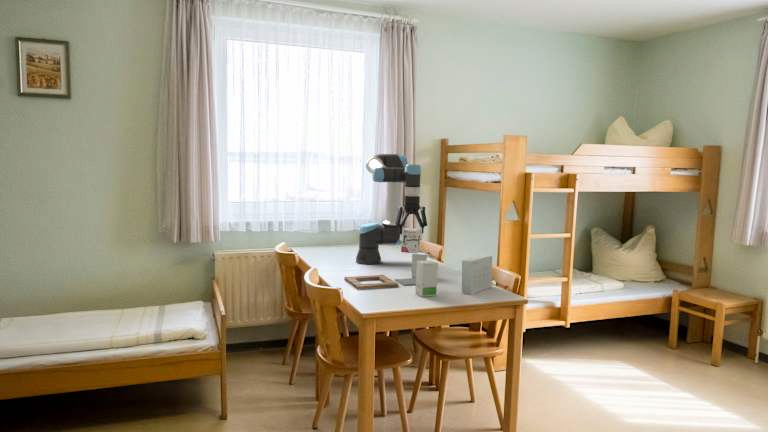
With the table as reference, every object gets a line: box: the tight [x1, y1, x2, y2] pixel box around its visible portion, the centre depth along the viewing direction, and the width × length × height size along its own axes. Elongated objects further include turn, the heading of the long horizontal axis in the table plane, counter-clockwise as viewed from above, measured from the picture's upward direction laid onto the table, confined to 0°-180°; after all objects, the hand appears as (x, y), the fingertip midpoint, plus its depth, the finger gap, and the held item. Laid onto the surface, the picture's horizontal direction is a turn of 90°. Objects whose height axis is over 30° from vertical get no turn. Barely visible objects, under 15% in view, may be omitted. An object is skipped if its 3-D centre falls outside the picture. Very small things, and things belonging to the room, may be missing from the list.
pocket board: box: [344, 274, 399, 291], centre depth 267 cm, size 21×21×2 cm
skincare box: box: [415, 260, 439, 298], centre depth 247 cm, size 8×7×16 cm
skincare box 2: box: [461, 254, 493, 296], centre depth 259 cm, size 21×6×16 cm, turn 141°
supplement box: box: [410, 251, 428, 278], centre depth 285 cm, size 7×7×13 cm
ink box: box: [400, 227, 421, 254], centre depth 270 cm, size 9×5×12 cm, turn 70°
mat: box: [394, 277, 416, 287], centre depth 272 cm, size 12×12×1 cm
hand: (410, 240), depth 270 cm, fingers closed on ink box, 9 cm apart
